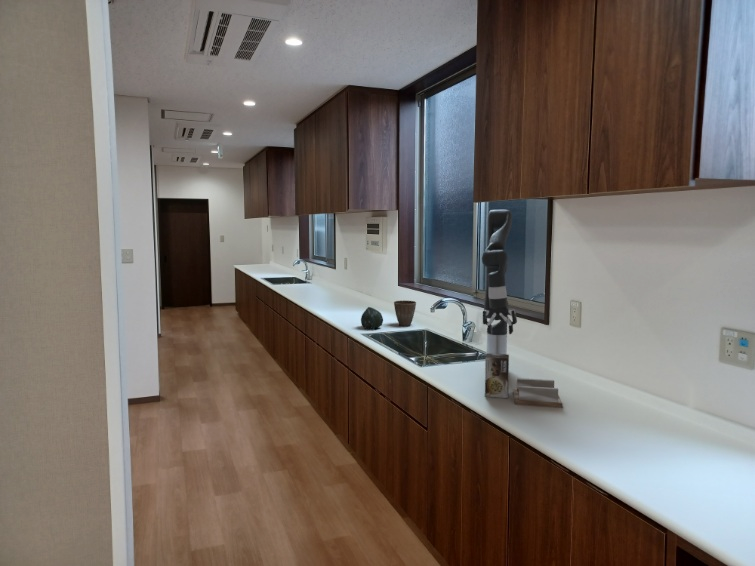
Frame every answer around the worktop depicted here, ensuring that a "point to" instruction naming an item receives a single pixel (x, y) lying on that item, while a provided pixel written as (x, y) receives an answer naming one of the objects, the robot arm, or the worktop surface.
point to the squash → (371, 318)
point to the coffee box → (496, 375)
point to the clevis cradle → (536, 393)
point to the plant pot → (404, 312)
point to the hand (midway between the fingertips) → (500, 333)
